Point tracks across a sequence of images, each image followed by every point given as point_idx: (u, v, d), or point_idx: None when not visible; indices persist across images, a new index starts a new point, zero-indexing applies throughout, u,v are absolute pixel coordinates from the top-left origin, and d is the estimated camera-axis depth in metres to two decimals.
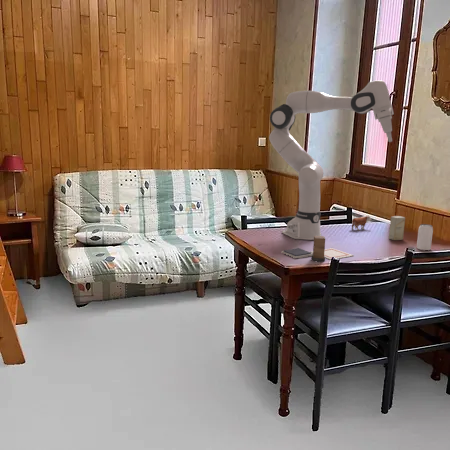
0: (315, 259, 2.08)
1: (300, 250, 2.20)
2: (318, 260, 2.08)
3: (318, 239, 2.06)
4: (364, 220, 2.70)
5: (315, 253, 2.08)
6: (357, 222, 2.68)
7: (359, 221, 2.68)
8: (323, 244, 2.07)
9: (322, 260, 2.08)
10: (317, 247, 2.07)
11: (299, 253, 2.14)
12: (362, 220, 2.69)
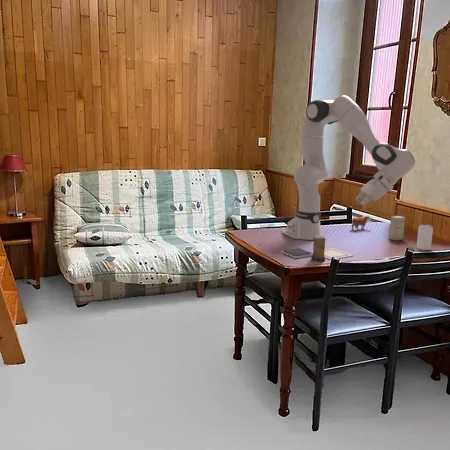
0: (315, 259, 2.08)
1: (300, 250, 2.20)
2: (318, 260, 2.08)
3: (318, 239, 2.06)
4: (364, 220, 2.70)
5: (315, 253, 2.08)
6: (357, 222, 2.68)
7: (359, 221, 2.68)
8: (323, 244, 2.07)
9: (322, 260, 2.08)
10: (317, 247, 2.07)
11: (299, 253, 2.14)
12: (362, 220, 2.69)
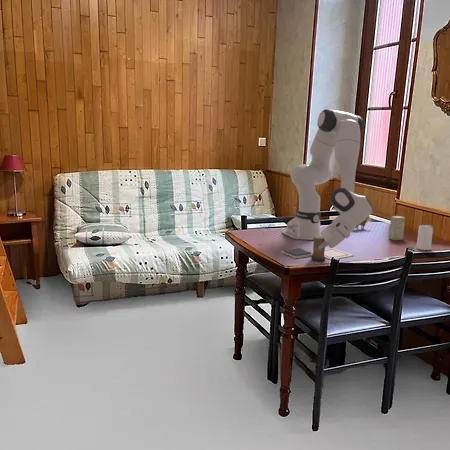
0: (315, 259, 2.08)
1: (300, 250, 2.20)
2: (318, 260, 2.08)
3: (318, 239, 2.06)
4: (364, 220, 2.70)
5: (315, 253, 2.08)
6: None
7: None
8: None
9: (322, 260, 2.08)
10: None
11: (299, 253, 2.14)
12: None
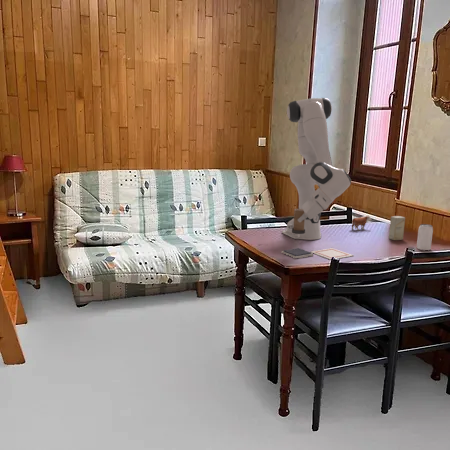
0: (295, 231, 2.13)
1: (300, 250, 2.20)
2: (298, 232, 2.13)
3: (298, 211, 2.12)
4: (364, 220, 2.70)
5: (295, 225, 2.13)
6: (357, 222, 2.68)
7: (359, 221, 2.68)
8: None
9: (302, 232, 2.13)
10: (297, 220, 2.13)
11: (299, 253, 2.14)
12: (362, 220, 2.69)
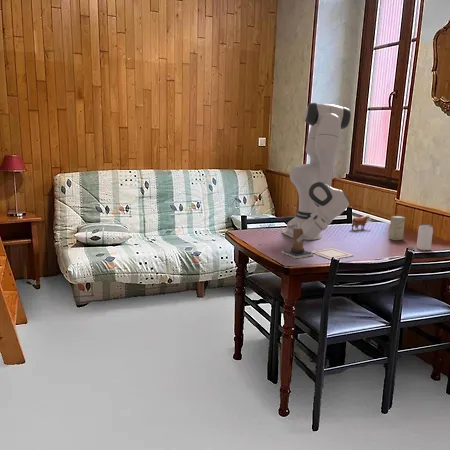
0: (294, 250, 2.15)
1: None
2: (297, 251, 2.15)
3: (297, 231, 2.14)
4: (364, 220, 2.70)
5: (294, 245, 2.15)
6: (357, 222, 2.68)
7: (359, 221, 2.68)
8: None
9: (301, 251, 2.15)
10: None
11: (299, 253, 2.14)
12: (362, 220, 2.69)
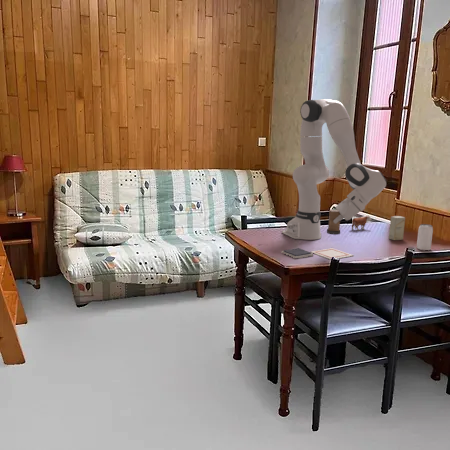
0: (331, 232, 2.15)
1: (300, 250, 2.20)
2: (334, 233, 2.15)
3: (334, 212, 2.14)
4: (364, 220, 2.70)
5: (331, 226, 2.15)
6: (357, 222, 2.68)
7: (359, 221, 2.68)
8: None
9: (337, 233, 2.15)
10: (332, 221, 2.14)
11: (299, 253, 2.14)
12: (362, 220, 2.69)
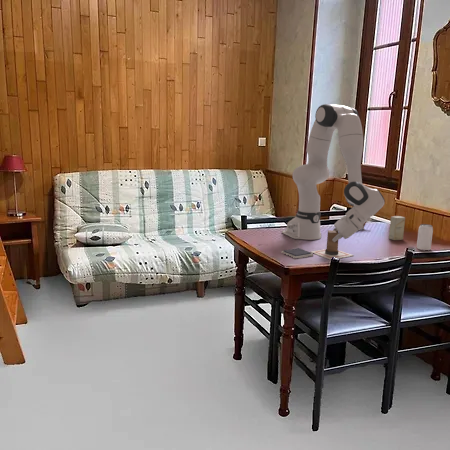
0: (329, 252, 2.17)
1: (300, 250, 2.20)
2: (332, 253, 2.17)
3: (332, 233, 2.16)
4: None
5: (329, 247, 2.17)
6: None
7: None
8: None
9: (336, 253, 2.17)
10: (331, 241, 2.17)
11: (299, 253, 2.14)
12: None
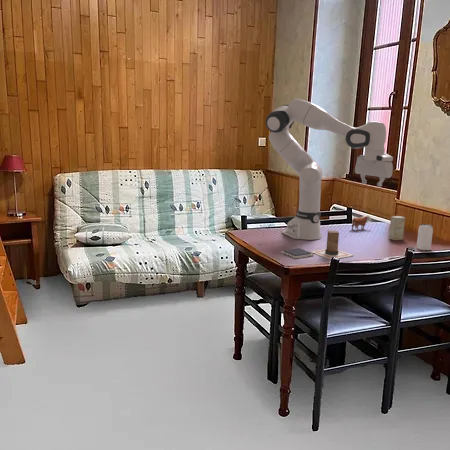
0: (329, 252, 2.17)
1: (300, 250, 2.20)
2: (332, 253, 2.17)
3: (332, 233, 2.16)
4: (364, 220, 2.70)
5: (329, 247, 2.17)
6: (357, 222, 2.68)
7: (359, 221, 2.68)
8: (336, 238, 2.16)
9: (336, 253, 2.17)
10: (331, 241, 2.17)
11: (299, 253, 2.14)
12: (362, 220, 2.69)
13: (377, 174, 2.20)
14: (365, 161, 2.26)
